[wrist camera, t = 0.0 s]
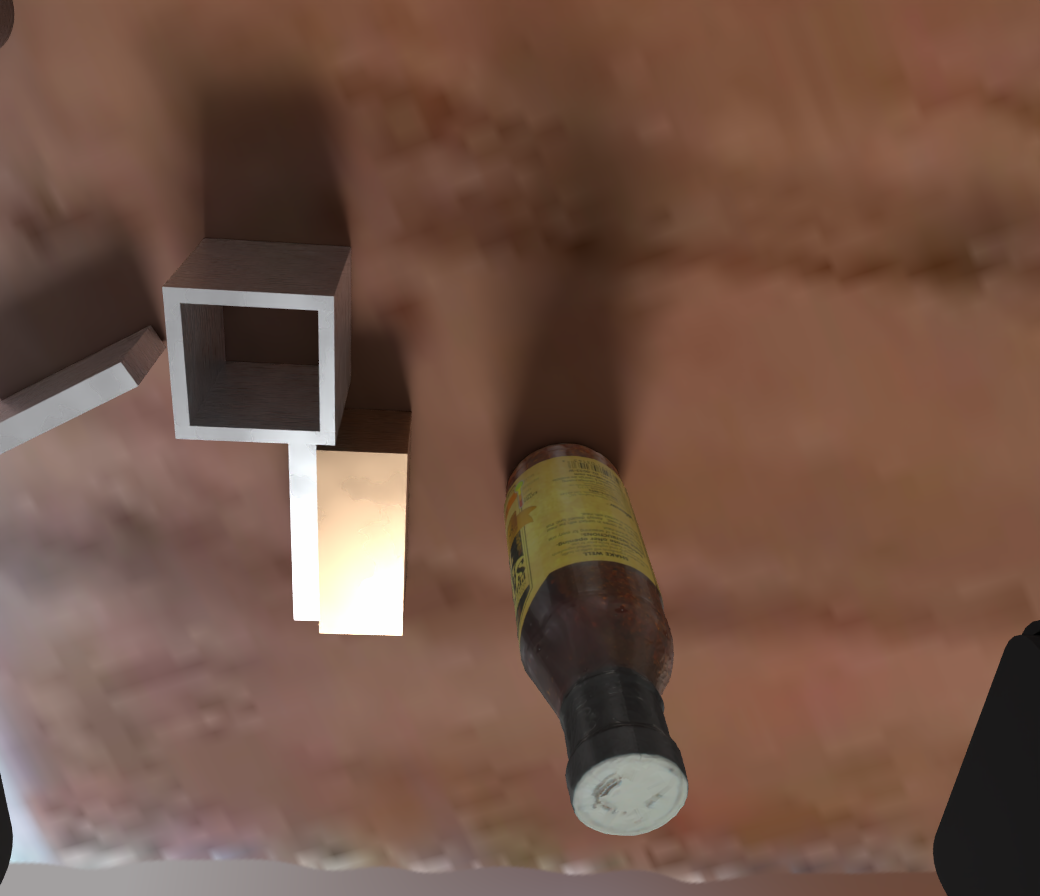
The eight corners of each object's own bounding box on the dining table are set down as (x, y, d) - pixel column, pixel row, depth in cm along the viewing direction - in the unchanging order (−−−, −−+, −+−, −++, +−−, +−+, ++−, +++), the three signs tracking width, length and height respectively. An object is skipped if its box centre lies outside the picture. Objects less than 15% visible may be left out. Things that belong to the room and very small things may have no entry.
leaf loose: (150, 325, 45) (120, 362, 41) (166, 347, 45) (138, 386, 41) (-3, 402, 46) (-47, 446, 42) (13, 423, 47) (-28, 468, 43)
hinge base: (204, 237, 43) (162, 286, 37) (416, 250, 44) (410, 300, 38) (227, 577, 51) (195, 663, 45) (406, 582, 52) (399, 668, 46)
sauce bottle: (482, 466, 49) (496, 756, 32) (597, 417, 49) (678, 687, 31) (533, 564, 52) (573, 880, 35) (643, 520, 51) (742, 821, 34)
